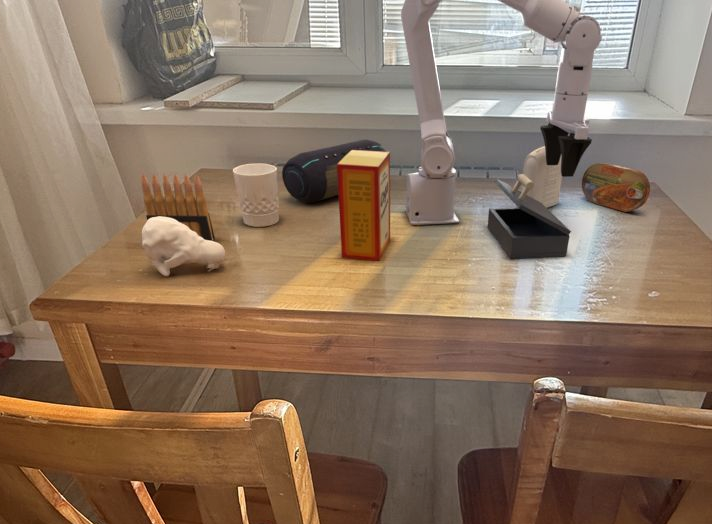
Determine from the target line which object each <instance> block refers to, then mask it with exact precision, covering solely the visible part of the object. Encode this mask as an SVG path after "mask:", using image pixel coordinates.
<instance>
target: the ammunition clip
mask: <svg viewBox="0 0 712 524" xmlns="http://www.w3.org/2000/svg"><path fill="white" fill-rule="evenodd" d="M193 179H194V180H193V183H194V191H193V186H192V183H191V180H190V178H189V176H188V175H187V173H185V174H184V176H183V187H184V192H183V189H182V184H181V181H180V180H179V177H178V175H177V174H176V173H174V174H173V179H172V183H173V190H174V192H173V190H172V185H171V183H170V179H169V178H168V176H167V175H166V173H163V175H162V186H163V191H162V188H161V186H160V185H161V184H160V182H159V180H158V177H157V176H156V173H152V176H151V184H152V190H151V187H150V183H149V181H148V178H147V176H146V175H145V173H141V177H140V180H141V181H140V183H141V189H142V195H143V203H144V207H145V211H146V221H147V220H148V219H150V218H152V217H158V216H162V217H169V218H173V219H175V220H177V221H178V222H180V223H182V224H184V225H186V226H187V227H189V229H190V230H192V231H194V232H196V233H197V234H198V236H200V237H202V238H203V239H204V240H210V241H214V242H215V241H216V237H215V232H214V228H213V224H212V220H211V215H210V212H209V209H208V204H207V199H206V196H205V193H204V190H203V185H202V181H201V179H200V177H199V175H198V174H197V173H195V174H194V178H193ZM152 192H153V193H152ZM163 193H164V195H163ZM194 193H195V195H194Z"/></svg>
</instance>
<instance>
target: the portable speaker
mask: <svg viewBox="0 0 712 524" xmlns="http://www.w3.org/2000/svg"><path fill="white" fill-rule="evenodd" d="M351 150H364V151H381V152H387V151H386V150H385V148H384V147H383V146H382V144H381V143H379V142H377V141H375V140H373V139H372V140H371V139H360V140H356V141H349V142H346V143H342V144H341V143H340V144H338V145H333V146H328V147H322V148H318V149H314V150H310V151H305V152H300V153H298V154H297V155H295V156H293V157H291V158H290V159H288V160H287V161H286V162H285V164H284V165H283V167H282V170H281V178H282V181H283V185H284V187H285V188H286V190H287V192H288V193H289V195H290V196H291V197H292V198H293V199H295V200H296V201H299V202H302V203H314V202H319V201H323V200H327V199H329V198H334V197H337V196H339V195H338V177H337V164H338V163H339V162H340V161H341V160H342V159H343V158H344V157H345V156H346V155H347V154H348V153H349V152H350V151H351Z"/></svg>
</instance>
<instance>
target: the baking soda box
mask: <svg viewBox="0 0 712 524" xmlns="http://www.w3.org/2000/svg"><path fill="white" fill-rule="evenodd" d="M337 177H338V195H337V196H338V213H339V231H340V246H341V247H340V248H341V259H352V260H366V261H375V262H377V261H378V262H380V261H381V259H382V257H383V255H384V253H385V251H386V249H387V247H388V245H389V244H390V241H391V152H390V151H386V152H381V151H364V150H351V151H350V152H349V153H348V154H347V155H346V156H345V157H344V158H343V159H342V160H341V161H340V162H339V163H338V164H337Z"/></svg>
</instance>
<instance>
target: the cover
mask: <svg viewBox="0 0 712 524" xmlns="http://www.w3.org/2000/svg"><path fill="white" fill-rule="evenodd" d="M493 183H495V184H496V185H497V186H498V187H499V189H500V190H501V191H502V192H503V193H504V194H505V196H507V197H508V198H509V199H510V200H511V201H512V202H513V204H514V205H515V206H516V207H518V208H519V209H521V210H523V211H525V212H527V213H529V214H530V215H532V216H534V217H536V218H538V219H540V220H542V221H544V222H545V223H547V224H549V225H551V226H553V227H555V228H557V229H559V230H560V231H562V232H564V233H566V234H568V235H569V236H570V234H571V233H572V230H570V229H569V228H568V226H566V225H565V224H564V223H563V222H562V221H561V220H560V219H559V218H558V217H557V216H556V215H554V213H552V212H551V211H550V209H548V207H547V208H546V207H545V206H544V205H543V204H542V203H540V202H539V201H537V200H535V199H533V198H531V197H530V196H528V195H527V193H528V191H529V190H531V189H533V187H534V183H533V182H532V181H531V180H530V179H528V178H527V177H526V176H525V175H524V174H523V173H520V174H518V175H517V181H516V183H514V186H512V185H509V184H508V183H506V182H504V181H502V180H500V179H499V178H498V177H497V178H494V180H493ZM521 184H522V185H523V186H525V188H524V190H523V191H522V192H521V190H519V189H520V188H521Z"/></svg>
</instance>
